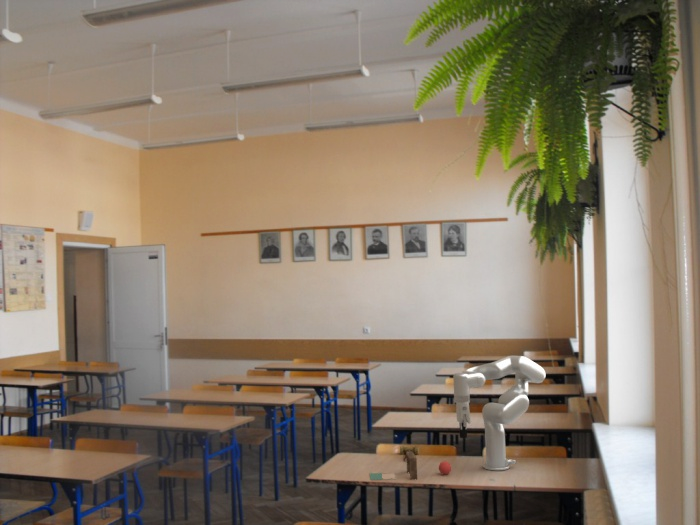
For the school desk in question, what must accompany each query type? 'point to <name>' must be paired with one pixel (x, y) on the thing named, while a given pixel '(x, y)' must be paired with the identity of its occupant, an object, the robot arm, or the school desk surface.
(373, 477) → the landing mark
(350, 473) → the school desk surface
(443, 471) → the ball
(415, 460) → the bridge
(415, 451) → the gavel
